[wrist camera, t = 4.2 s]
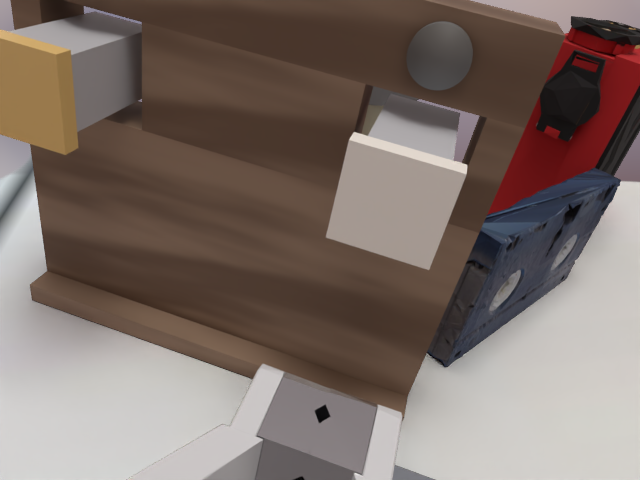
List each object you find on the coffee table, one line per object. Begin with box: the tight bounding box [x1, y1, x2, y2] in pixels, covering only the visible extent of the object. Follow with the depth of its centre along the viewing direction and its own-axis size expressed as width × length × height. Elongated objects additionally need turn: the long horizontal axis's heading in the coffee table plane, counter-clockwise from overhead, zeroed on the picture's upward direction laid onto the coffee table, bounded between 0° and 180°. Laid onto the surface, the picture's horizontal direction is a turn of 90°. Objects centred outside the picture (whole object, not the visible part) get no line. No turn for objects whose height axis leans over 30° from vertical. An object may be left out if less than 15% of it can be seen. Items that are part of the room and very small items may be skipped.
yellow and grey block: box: [0, 12, 142, 155], centre depth 23 cm, size 7×4×4 cm, turn 164°
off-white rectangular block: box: [326, 94, 467, 270], centre depth 21 cm, size 7×4×4 cm, turn 164°
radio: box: [487, 16, 640, 215], centre depth 47 cm, size 16×10×20 cm, turn 139°
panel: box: [11, 0, 565, 421], centre depth 27 cm, size 6×23×21 cm, turn 74°
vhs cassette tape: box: [427, 168, 621, 367], centre depth 37 cm, size 18×3×10 cm, turn 131°
